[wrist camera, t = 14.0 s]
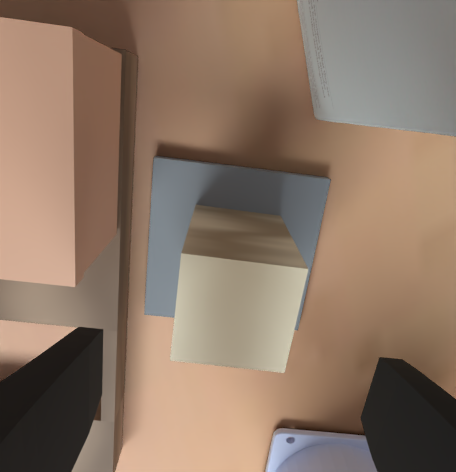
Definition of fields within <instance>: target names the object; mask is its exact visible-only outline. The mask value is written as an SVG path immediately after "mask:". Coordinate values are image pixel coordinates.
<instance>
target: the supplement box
mask: <svg viewBox="0 0 456 472" xmlns="http://www.w3.org/2000/svg"><path fill="white" fill-rule="evenodd" d="M297 5H298V12H299V18H300V24H301V31H302V38H303V44H304V51H305V57H306V64H307V71H308V77H309V84H310V91H311V98H312V104H313V110H314V116H315V118H316V119H318V120H324V121H330V122H339V123H348V124H356V125H363V126H372V127H381V128H391V129H398V130H407V131H416V132H423V133H433V134H440V135H448V136H455V137H456V0H297Z"/></svg>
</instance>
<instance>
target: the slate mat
mask: <svg viewBox="0 0 456 472" xmlns="http://www.w3.org/2000/svg"><path fill="white" fill-rule="evenodd" d="M330 181H331V179H329V178H328V177H321V176H313V175H305V174H297V173H289V172H282V171H274V170H266V169H258V168H250V167H242V166H234V165H226V164H218V163H210V162H202V161H194V160H186V159H178V158H170V157H162V156H155V157H154V160H153V177H152V194H151V211H150V228H149V245H148V262H147V279H146V296H145V313H144V314H145V315H154V316H164V317H173V318H175V308H176V299H177V289H178V280H179V270H180V260H181V252H182V249H183V246H184V242H185V239H186V235H187V232H188V229H189V225H190V222H191V218H192V215H193V212H194V208H195V205H202V206H210V207H217V208H225V209H233V210H240V211H248V212H255V213H263V214H270V215H278V216H281V217H282V219H283V221H284V223H285V225H286V227H287V229H288V231H289V233H290V235H291V237H292V239H293V240H294V242H295V244H296V246H297V248H298V250H299V252H300V254H301V256H302V258H303V260H304V262H305V264H306V265H307V267H308V273H307V278H306V282H305V286H304V291H303V295H302V299H301V304H300V308H299V312H298V317H297V321H296V325H295V330H298V327H299V322H300V318H301V313H302V309H303V304H304V300H305V295H306V290H307V286H308V281H309V277H310V272H311V268H312V263H313V258H314V254H315V249H316V245H317V240H318V236H319V231H320V227H321V222H322V217H323V213H324V208H325V204H326V199H327V195H328V190H329V185H330Z"/></svg>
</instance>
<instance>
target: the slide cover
mask: <svg viewBox="0 0 456 472" xmlns="http://www.w3.org/2000/svg"><path fill="white" fill-rule="evenodd" d="M121 64H122V54H120V53H118V52H116V51H115V50H113V49H111V48H109V47H107V46H105V45H103V44H101V43H99V42H97V41H95V40H93V39H91V38H89V37H87V36H85V35H84V34H83V32H81V31H79V30H77V29H75V28H73V27H68V26H61V25H54V24H47V23H39V22H32V21H25V20H18V19H11V18H4V17H0V279H3V280H13V281H22V282H31V283H41V284H50V285H60V286H69V287H76V286H77V285H78V283H79V282H80V281H81V280H82V279H83V277H84V272H85V271H86V270H87V269H88V267H89V266H90V265H91V264H92V263H93V261H94V260H95V259H96V258H97V257H98V256H99V254H100V253H101V252H102V251H103V250H104V248H105V247H106V246H107V245H108V244H109V243H110V241H111V240H112V239H113V238H114V237H115V235H116V234H117V206H118V170H119V135H120V99H121Z"/></svg>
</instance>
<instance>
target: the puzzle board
mask: <svg viewBox="0 0 456 472" xmlns="http://www.w3.org/2000/svg"><path fill="white" fill-rule="evenodd" d="M111 49H113V50H115V51H116V52H118V53H120V54H122V64H121V99H120V135H119V170H118V206H117V234H116V235H115V237H114V238H113V239H112V240H111V241H110V243H109V244H108V245H107V246H106V247H105V248H104V250H103V251H102V252H101V253H100V254H99V256H98V257H97V258H96V259H95V260H94V261H93V263H92V264H91V265H90V266H89V267H88V269H87V270H86V271H85V272H84V277H83V279H82V280H81V281H80V282H79V283H78V285H77V286H76V287H69V286H60V285H50V284H41V283H31V282H22V281H13V280H3V279H0V320H8V321H18V322H28V323H38V324H48V325H57V326H67V327H77V328H78V327H87V328H97V329H103V379H102V396H101V399H100V402H99V405H98V409H97V412H96V415H95V418H94V421H93V423H92V426H91V429H90V432H89V435H88V437H87V439H86V441H85V444H84V446H83V448H82V450H81V452H80V454H79V457H78V459H77V461H76V463H75V465H74V467H73V470H72V472H115V470H116V466H117V463H118V460H119V456H120V453H121V450H122V432H123V408H124V384H125V360H126V336H127V311H128V287H129V263H130V239H131V215H132V191H133V166H134V142H135V118H136V94H137V70H138V56H136V55H134V54H132V53H131V52H129V51H127V50H124V49H117V48H111Z"/></svg>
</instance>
